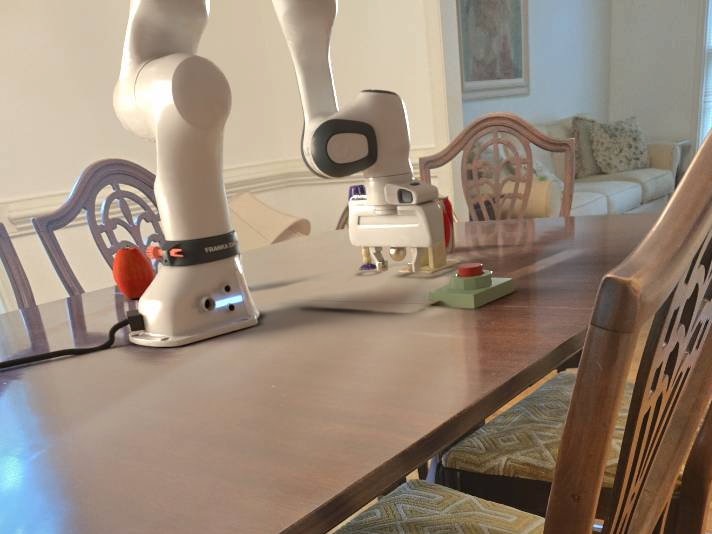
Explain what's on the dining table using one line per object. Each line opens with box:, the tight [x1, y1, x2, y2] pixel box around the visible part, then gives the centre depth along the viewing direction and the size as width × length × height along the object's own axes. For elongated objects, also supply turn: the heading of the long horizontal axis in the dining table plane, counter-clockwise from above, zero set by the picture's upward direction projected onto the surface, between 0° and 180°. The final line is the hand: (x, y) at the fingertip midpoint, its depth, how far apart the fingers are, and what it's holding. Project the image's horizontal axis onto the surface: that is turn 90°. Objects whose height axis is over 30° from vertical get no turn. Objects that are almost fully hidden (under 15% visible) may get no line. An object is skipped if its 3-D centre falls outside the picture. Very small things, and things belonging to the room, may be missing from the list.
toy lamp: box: [347, 184, 377, 271], centre depth 155 cm, size 5×5×17 cm
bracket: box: [398, 201, 462, 274], centre depth 150 cm, size 10×8×13 cm
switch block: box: [427, 269, 515, 310], centre depth 128 cm, size 12×9×4 cm
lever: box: [389, 247, 407, 262], centre depth 146 cm, size 14×3×3 cm, turn 142°
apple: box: [112, 245, 156, 300], centre depth 159 cm, size 8×8×11 cm
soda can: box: [434, 194, 456, 255], centre depth 164 cm, size 7×7×12 cm
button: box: [457, 262, 484, 277], centre depth 126 cm, size 4×4×2 cm
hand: (398, 271), depth 146 cm, fingers open, 6 cm apart
